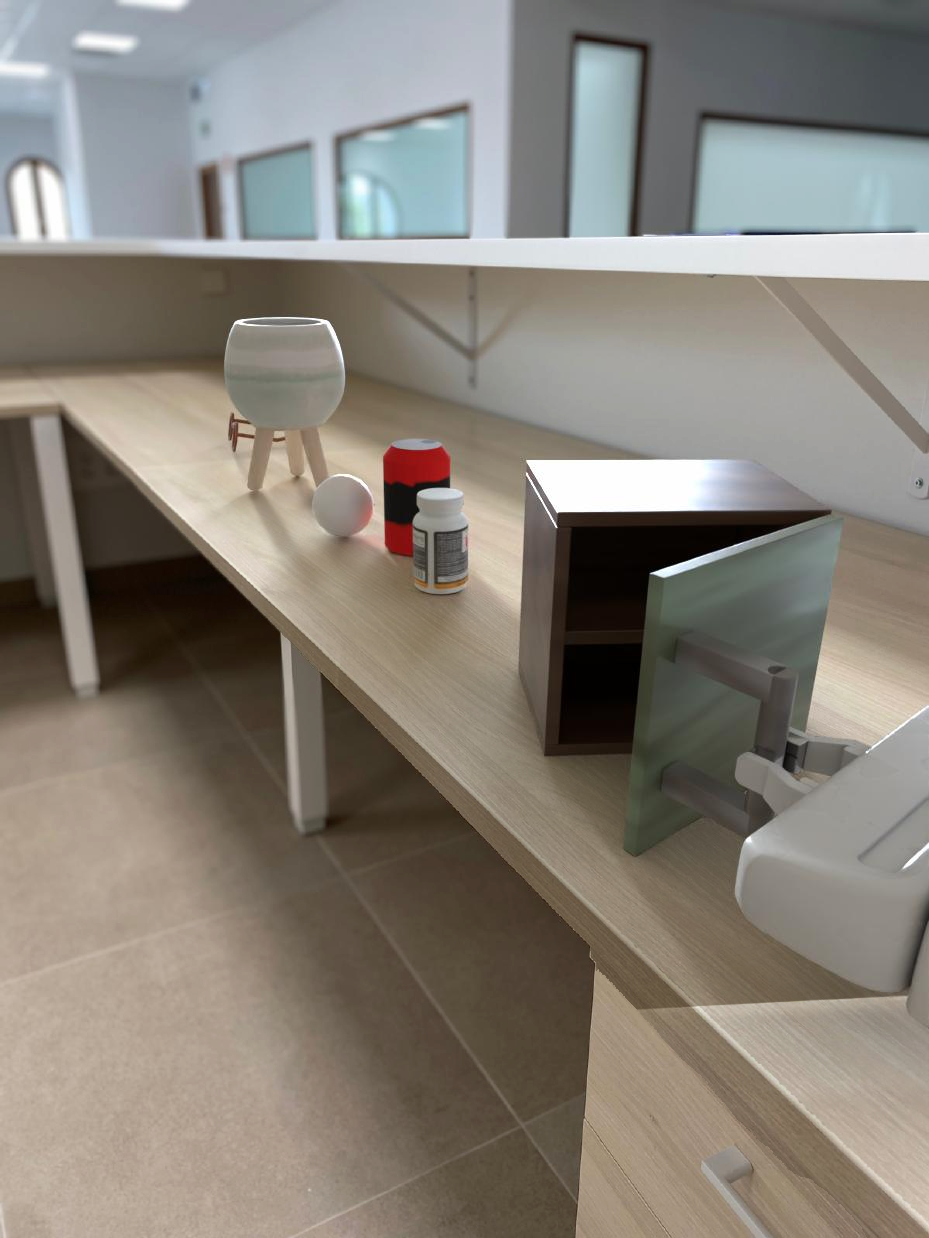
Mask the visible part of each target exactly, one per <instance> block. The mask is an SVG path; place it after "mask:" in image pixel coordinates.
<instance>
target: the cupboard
mask: <svg viewBox="0 0 929 1238" xmlns="http://www.w3.org/2000/svg"><path fill="white" fill-rule="evenodd" d="M525 473H526V474H525V493H524V494H525V497H524V519H523V520H524V521H523V542H522V544H523V545H522V567H521V568H522V569H521V589H520V590H521V593H520V617H519V643H518V668H517V670H518V674H519V677H520V680H521V683H522V687H523V690H524V695H525V697H526V701H527V704H528V707H529V711H530V714H531V717H532V721H533V725H534V727H535V728H534V729H535V731H536V735H537V738H538V741H539V745H540V747H541V752H542V755H543V757H570V756H572V757H573V756H574V757H575V756H604V755H605V756H606V755H607V756H609V755H632V750H633V739H634V729H635V719H636V709H637V699H638V688H639V678H640V668H641V658H642V648H643V637H644V627H645V617H646V607H647V597H648V586H649V576H650V573H652V572H655V571H658V570H661V569H665V568H668V567H671V566H674V565H677V564H680V563H683V562H686V561H689V560H692V559H695V558H698V557H701V556H704V555H707V554H710V553H713V552H716V551H719V550H722V549H725V548H728V547H731V546H734V545H738V544H741V543H744V542H747V541H750V540H753V539H756V538H759V537H762V536H765V535H768V534H771V533H774V532H777V531H780V530H783V529H786V528H789V527H792V526H795V525H798V524H801V523H804V522H808V521H811V520H814V519H817V518H820V517H823V516H826V515H829V514H833V510H832V509H831V508H830V507H828V506H826V505H825V504H823V502H820V501H819V500H817V499H816V498H814V497H813V496H811V495H810V494H808V493H806V492H804V491H803V490H802V489H800V488H798V487H797V486H795V484H792V483H791V482H789V481H788V480H786V479H784V478H783V477H782V476H780V475H778V474H777V473H775V472H774V471H772V470H770V469H769V468H767V467H766V466H765V465H763V464H761V463H760V462H758V461H756V460H755V459H599V460H598V459H596V460H595V459H590V460H589V459H588V460H587V459H586V460H583V459H581V460H575V459H573V460H572V459H571V460H562V459H561V460H526V470H525Z"/></svg>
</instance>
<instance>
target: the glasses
mask: <svg viewBox="0 0 929 1238" xmlns="http://www.w3.org/2000/svg"><path fill="white" fill-rule="evenodd" d="M228 422H229V423H228V428H227V429H228V430H227V439H228V441H230V442H231V451H232V452H234V453H235V452H236V451H237V447H238V438H244V439H245V438H246V439H252V440H254V437H255V434H251V433H246V432H245V433H244V432H239V424H243V425H251V426H252V424H251V423H250V422H249V421H247V420H246V419H242V418H235V413H234V411H233V412H230V415H229V421H228ZM284 441H285V436H280V437H273V442H274V443H279V442H284ZM273 442H272V443H273Z"/></svg>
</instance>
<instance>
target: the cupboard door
mask: <svg viewBox="0 0 929 1238" xmlns="http://www.w3.org/2000/svg"><path fill="white" fill-rule="evenodd" d="M844 521H845V517H844V516H840V515H836V514H833V513H831V514H829V515H826V516H823V517H820V518H817V519H814V520H811V521H808V522H804V523H801V524H798V525H795V526H792V527H789V528H786V529H783V530H780V531H777V532H774V533H771V534H768V535H765V536H762V537H759V538H756V539H753V540H750V541H747V542H744V543H741V544H738V545H734V546H731V547H728V548H725V549H722V550H719V551H716V552H713V553H710V554H707V555H704V556H701V557H698V558H695V559H692V560H689V561H686V562H683V563H680V564H677V565H674V566H671V567H668V568H665V569H661V570H658V571H655V572H652V573H650V576H649V586H648V597H647V607H646V617H645V627H644V637H643V648H642V658H641V668H640V678H639V688H638V699H637V709H636V719H635V729H634V739H633V750H632V754H631V761H630V763H631V764H630V771H629V781H628V782H629V783H628V791H627V801H626V811H625V821H624V833H623V842H622V849H623V850H625V851H626V852H628V853H629V854H631V855H632V856H634V857H636V856H638V855H640V854H642V853H643V852H645V851H646V850H648V849H650V848H652V847H653V846H655V845H657V844H658V843H660V842H662V841H663V840H665V839H666V838H669V837H670V836H671V835H674V834H675V833H677V832H678V831H680V830H682V829H683V828H685V827H687V826H688V825H691V824H692V823H694V822H695V821H696V820H698V819H700V818H701V817H705V818H707V819H709V820H711V821H713V822H714V823H716V824H718V825H719V826H721V827H723V828H725V829H727V830H729V831H731V832H732V833H734V834H735V835H738V836H740V837H741V838H743V839H745V840H746V839H747V838H748V837H749V836H750V835H751V834H753V833H754V832H756V831H757V830H759V829H760V828H761V827H763V826H764V825H765V824H767V823H768V822H770V821H771V820H772V819H774V818H775V815H776V814H775V812H774V811H773V810H772V808H771V807H770V806H769V805H768V803H767V802H766V801H765V799H764V798H763V796H762V795H760V794H758V793H756V792H754V791H752V790H750V789H748V788H746V787H744V786H742V785H740V784H739V783H738V782H737V780H736V778H735V770H736V764H737V758H738V757H739V756H740V755H742V754H743V753H745V752H747V751H748V750H750V749H752V748H754V747H755V746H761V747H763V748H765V749H766V750H767V751H773V752H775V753H777V754H779V755H781V756H785V751H786V745H787V739H788V733H789V727H792V728H794V729H797V730H799V731H802V732H804V733H807V727H808V726H807V725H808V720H809V714H810V709H811V705H812V704H811V703H812V697H813V693H814V687H815V681H816V675H817V670H818V664H819V659H820V654H821V648H822V643H823V638H824V632H825V625H826V622H827V621H826V620H827V616H828V610H829V604H830V598H831V592H832V587H833V582H834V577H835V571H836V565H837V559H838V555H839V548H840V543H841V538H842V533H843V526H844ZM783 762H784V758H783ZM782 768H783V764H782ZM745 791H746V793H744V792H745Z"/></svg>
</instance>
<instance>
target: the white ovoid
mask: <svg viewBox="0 0 929 1238" xmlns="http://www.w3.org/2000/svg"><path fill="white" fill-rule="evenodd" d="M329 477H330V478H328V479H326V480H324V481H323V482H322V483H321V484H320V485H319V486H318V488H317V487H316V489H315V492H314V494H313V495H312V503H311V508H312V509H311V510H312V513H313V517H314V519H315V520H316V522H317V523H318V525H319V526H320V527H321V528H322V529H323V530H324V531H325V532H327V533H329V534H331V535H334V536H336V537H337V536H338V537H350V536H351V537H352V536H353V535H356V534H359V533H360V532H361V531H363V530H364V529H365V528H367V526H368V525H369V523H370V522H371V520H372V517H373V515H374V508H375V507H376V504H375V502H374V497H373V494H372V493H371V490H370V488H369V487H368V486H367V484H365V483H364V482H363V481H362V480H361V479H360V478H358V477H356V476H353V475H350V474H346V473H345V474H334V475H332V476H329Z"/></svg>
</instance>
